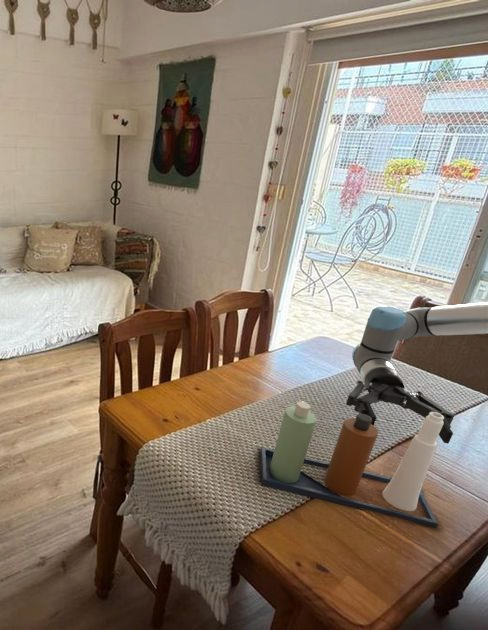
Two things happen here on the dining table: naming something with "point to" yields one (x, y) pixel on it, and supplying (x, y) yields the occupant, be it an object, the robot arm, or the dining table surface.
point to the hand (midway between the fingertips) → (409, 430)
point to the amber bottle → (351, 455)
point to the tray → (319, 491)
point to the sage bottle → (293, 442)
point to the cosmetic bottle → (414, 465)
